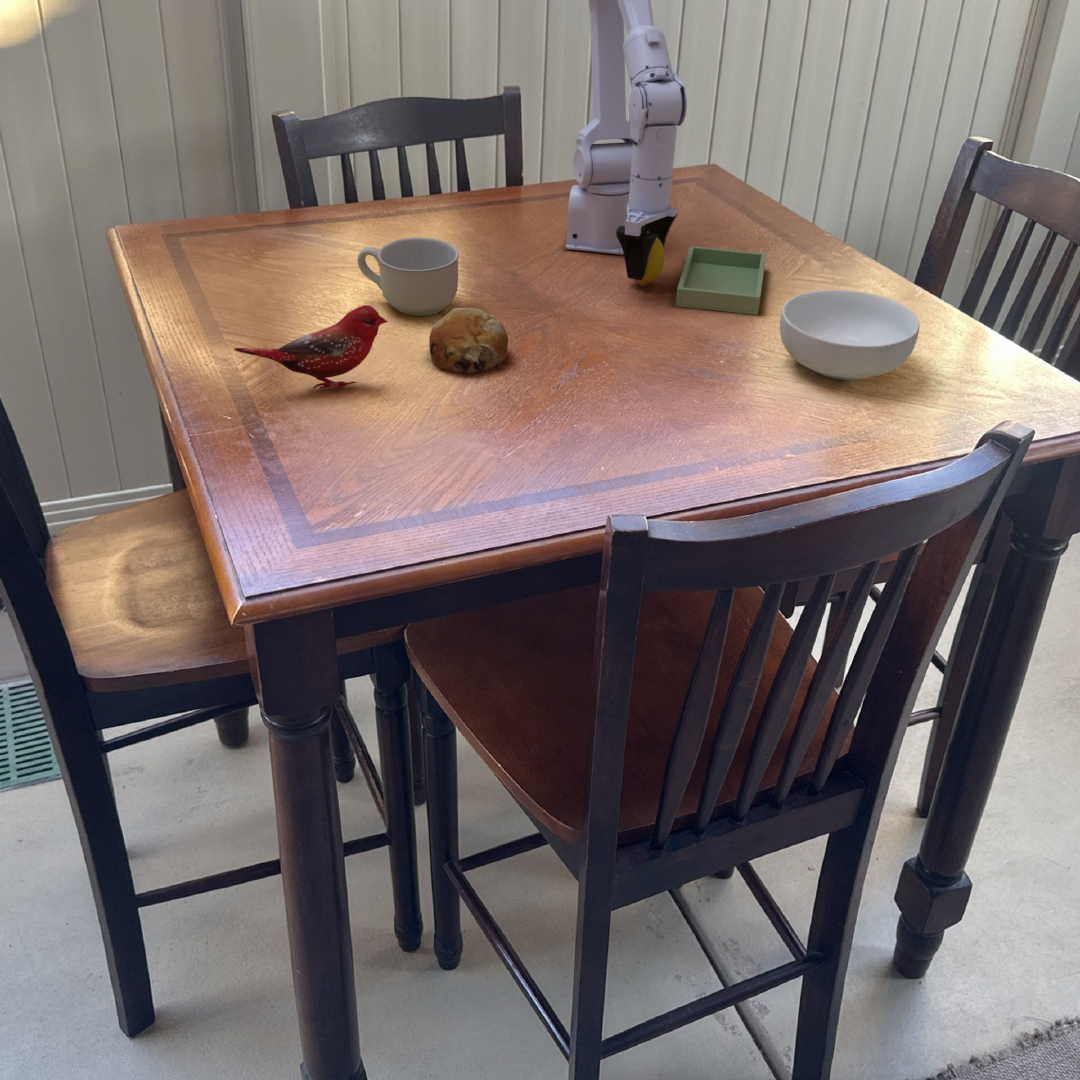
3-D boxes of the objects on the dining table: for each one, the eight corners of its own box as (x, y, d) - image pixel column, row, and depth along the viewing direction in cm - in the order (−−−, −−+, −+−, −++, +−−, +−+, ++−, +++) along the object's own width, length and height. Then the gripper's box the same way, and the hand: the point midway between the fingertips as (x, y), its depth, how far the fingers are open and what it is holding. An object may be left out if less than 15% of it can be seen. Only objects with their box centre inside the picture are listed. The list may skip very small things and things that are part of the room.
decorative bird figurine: (393, 387, 135) (389, 308, 129) (241, 403, 130) (230, 322, 125) (388, 376, 137) (384, 299, 131) (239, 392, 133) (228, 312, 127)
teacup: (473, 301, 157) (473, 245, 152) (434, 329, 149) (433, 271, 144) (387, 282, 161) (384, 228, 157) (345, 309, 153) (340, 252, 149)
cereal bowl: (765, 336, 150) (773, 285, 146) (891, 341, 150) (902, 290, 146) (784, 395, 136) (793, 341, 132) (922, 400, 136) (936, 346, 132)
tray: (675, 306, 157) (677, 288, 156) (688, 262, 171) (689, 245, 170) (757, 315, 156) (760, 297, 154) (763, 270, 170) (766, 253, 168)
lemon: (662, 293, 161) (668, 239, 156) (624, 292, 161) (628, 237, 156) (660, 279, 166) (665, 225, 161) (622, 277, 166) (626, 224, 161)
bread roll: (513, 379, 145) (523, 317, 144) (487, 378, 135) (498, 311, 134) (442, 366, 148) (452, 305, 146) (411, 364, 138) (421, 298, 137)
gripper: (664, 193, 147) (655, 291, 155) (694, 164, 159) (684, 257, 166) (613, 185, 150) (606, 283, 157) (646, 157, 161) (638, 249, 168)
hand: (643, 269), depth 162 cm, fingers open, 7 cm apart
